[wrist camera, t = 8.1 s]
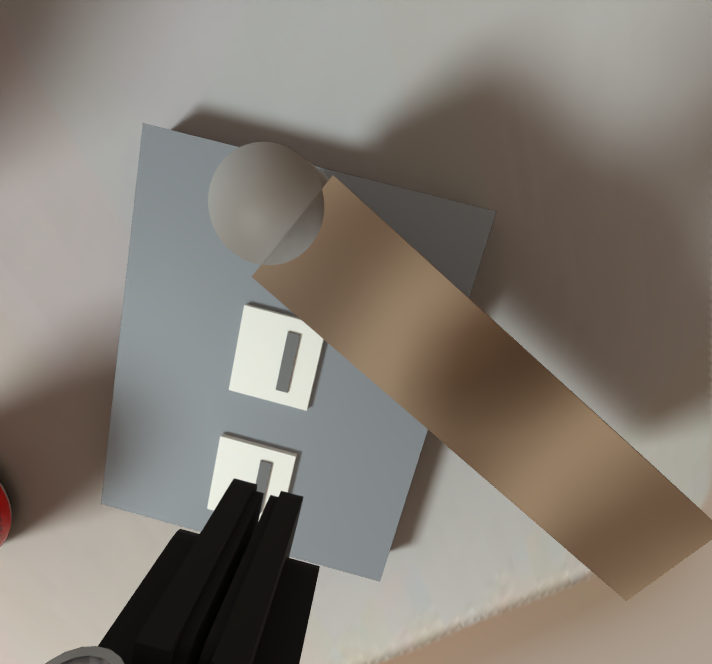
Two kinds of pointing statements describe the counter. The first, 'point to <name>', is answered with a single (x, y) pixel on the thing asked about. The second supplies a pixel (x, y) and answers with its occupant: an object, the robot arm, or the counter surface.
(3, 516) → the soda can
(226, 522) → the robot arm
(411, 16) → the counter surface
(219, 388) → the label board
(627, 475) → the swing arm
